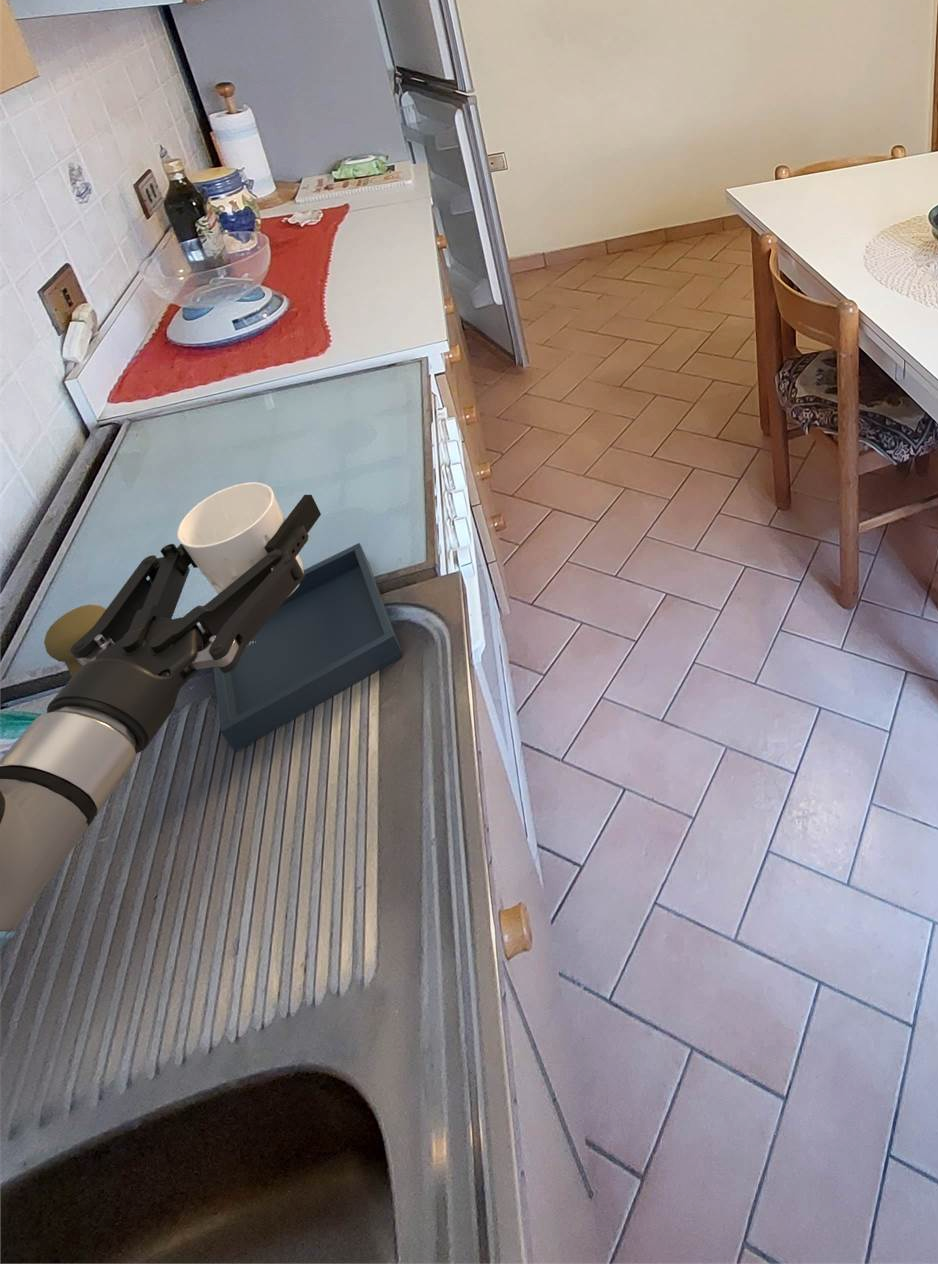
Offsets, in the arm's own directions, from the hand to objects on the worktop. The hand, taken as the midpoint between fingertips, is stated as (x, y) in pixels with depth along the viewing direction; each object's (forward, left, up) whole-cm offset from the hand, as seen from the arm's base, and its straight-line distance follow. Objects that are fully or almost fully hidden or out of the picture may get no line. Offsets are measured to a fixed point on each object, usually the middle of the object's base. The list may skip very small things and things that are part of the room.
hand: (273, 505), depth 79 cm
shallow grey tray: (+3, -3, -17) cm, 17 cm away
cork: (-4, -19, -17) cm, 26 cm away
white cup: (+4, -3, -6) cm, 8 cm away
